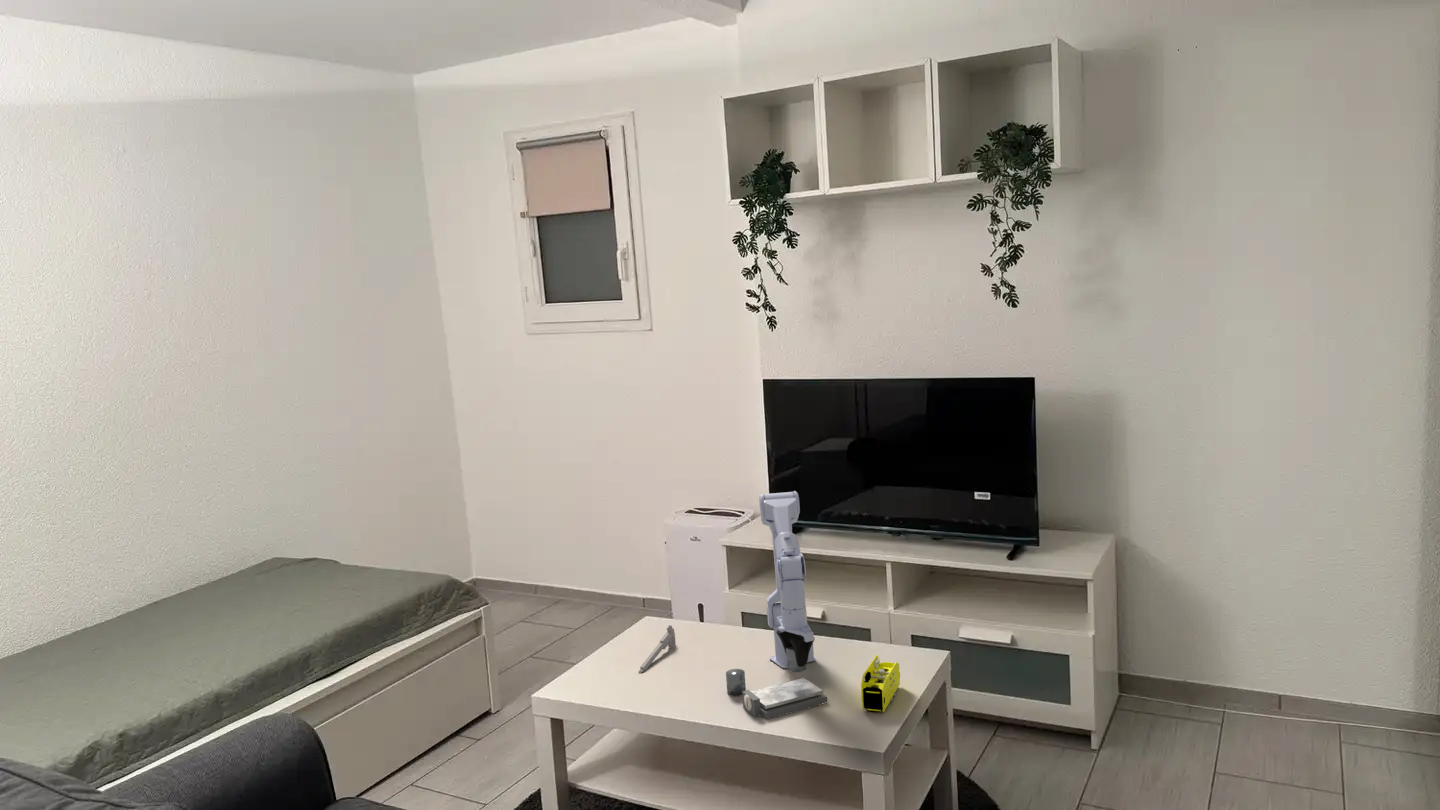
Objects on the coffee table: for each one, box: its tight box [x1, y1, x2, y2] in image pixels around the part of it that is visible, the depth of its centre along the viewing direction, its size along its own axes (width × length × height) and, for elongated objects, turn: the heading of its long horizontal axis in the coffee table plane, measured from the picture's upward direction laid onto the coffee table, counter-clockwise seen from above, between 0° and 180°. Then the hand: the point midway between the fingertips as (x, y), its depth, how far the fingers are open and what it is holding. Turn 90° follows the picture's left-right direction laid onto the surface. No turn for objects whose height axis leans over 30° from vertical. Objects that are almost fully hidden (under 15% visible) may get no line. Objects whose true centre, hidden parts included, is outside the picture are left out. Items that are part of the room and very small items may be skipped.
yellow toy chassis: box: [860, 654, 901, 713], centre depth 241 cm, size 16×6×8 cm, turn 157°
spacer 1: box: [725, 668, 747, 697], centre depth 251 cm, size 4×4×5 cm
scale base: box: [741, 689, 828, 720], centre depth 242 cm, size 18×11×4 cm, turn 115°
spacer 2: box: [786, 645, 807, 673], centre depth 245 cm, size 4×4×5 cm
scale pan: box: [750, 677, 824, 709], centre depth 243 cm, size 15×9×1 cm, turn 115°
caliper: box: [638, 625, 677, 674], centre depth 276 cm, size 20×1×6 cm, turn 157°
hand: (797, 662), depth 245 cm, fingers closed on spacer 2, 4 cm apart
